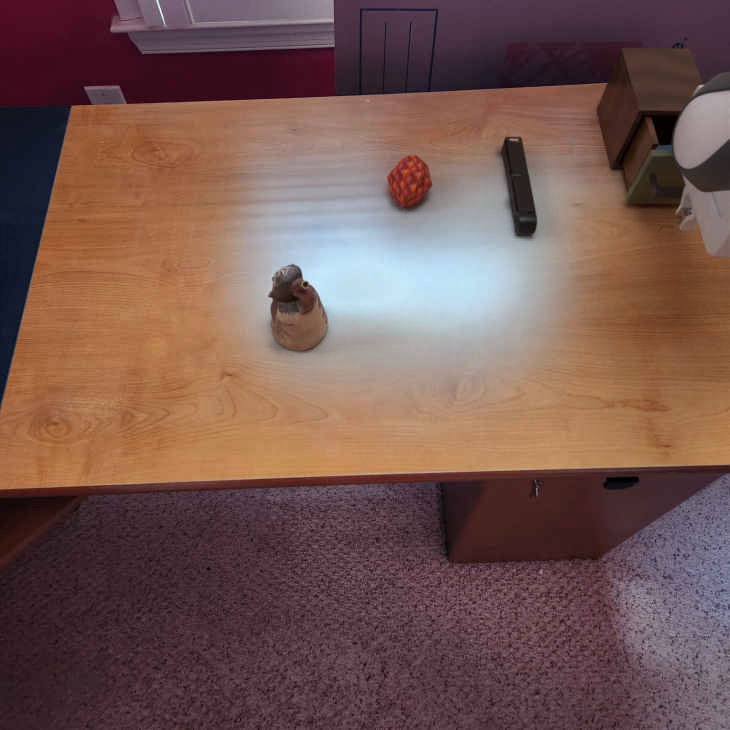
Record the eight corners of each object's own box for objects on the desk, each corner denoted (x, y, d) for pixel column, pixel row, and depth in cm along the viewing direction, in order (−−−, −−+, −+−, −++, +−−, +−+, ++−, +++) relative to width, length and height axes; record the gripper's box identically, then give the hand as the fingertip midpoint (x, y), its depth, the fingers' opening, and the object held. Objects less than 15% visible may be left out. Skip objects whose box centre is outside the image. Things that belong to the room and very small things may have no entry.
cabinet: (676, 170, 88) (713, 111, 79) (610, 169, 88) (639, 110, 79) (657, 110, 94) (689, 48, 85) (596, 109, 95) (621, 47, 85)
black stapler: (533, 238, 82) (539, 223, 79) (515, 238, 82) (520, 223, 79) (517, 148, 90) (521, 132, 88) (500, 148, 90) (504, 133, 88)
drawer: (693, 225, 82) (728, 178, 74) (631, 224, 82) (658, 177, 74) (668, 143, 90) (697, 93, 82) (611, 142, 90) (634, 92, 82)
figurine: (304, 296, 78) (294, 237, 67) (339, 329, 75) (334, 273, 65) (262, 326, 75) (245, 270, 65) (296, 362, 73) (284, 309, 62)
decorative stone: (386, 211, 88) (399, 162, 88) (428, 218, 86) (442, 167, 86) (375, 194, 81) (389, 141, 82) (420, 201, 79) (435, 147, 80)
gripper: (804, 208, 59) (729, 287, 71) (747, 77, 68) (689, 167, 81) (742, 207, 59) (677, 287, 71) (693, 76, 68) (643, 166, 81)
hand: (683, 222), depth 76 cm, fingers closed
